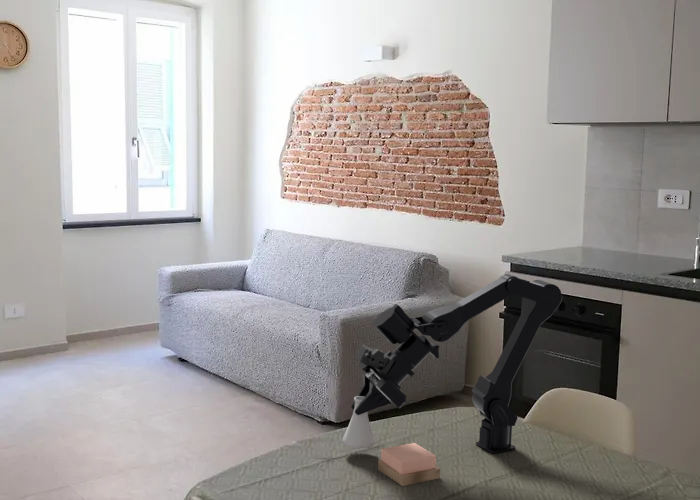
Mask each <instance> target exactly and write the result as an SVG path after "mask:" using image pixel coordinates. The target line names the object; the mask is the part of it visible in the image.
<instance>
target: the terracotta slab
mask: <svg viewBox="0 0 700 500" xmlns="http://www.w3.org/2000/svg"><path fill="white" fill-rule="evenodd" d="M380 455H381V456H380V460H381V461H383V462H384V463H386V464H387V465H388V466H390V467H391V468H393V469H394V470H395V471H397V472H398V473H400V474H401V475H402V474H408V473H413V472H418V471H423V470H428V469H433V468H436V466H437V465H436V464H437V461H436V460H437V456H436V455H435V454H433V453H432V452H430V451H429V450H427V449H425V448H423V447H422V446H420V445H419V444H417V443H416V442H411V443H407V444H400V445H394V446H390V447H383V448H381V450H380Z"/></svg>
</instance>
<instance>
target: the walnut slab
mask: <svg viewBox="0 0 700 500" xmlns="http://www.w3.org/2000/svg"><path fill="white" fill-rule="evenodd" d="M377 470H378V471H379V472H381V473H382V474H384V476H386V475H387V477H388V478H389V477H390V478H389V479H391V480H392V479H393V481H394V482H395V481H396V482H395V483H397V484H398V483H399V484H398V485H400V486H401V487H404V486H409V484H410V485H413V484H418V483H422V482H429V481H432V480H436V479H437V480H438V479H440V478H441V468H440V467H438V466H437V465H436V468H433V469H428V470H423V471H418V472H413V473H408V474H402V475H401V474H400V473H398V472H397V471H395V470H394V469H393V468H391V467H390V466H388V465H387V464H386V463H384V462H383V461H381V459H378V460H377Z"/></svg>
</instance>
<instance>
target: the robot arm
mask: <svg viewBox="0 0 700 500" xmlns="http://www.w3.org/2000/svg"><path fill="white" fill-rule="evenodd" d="M513 295H514V296H518V297H522V298H521V299H522V300H521V308H520V309H521V312H520V316H519V318H518V319H517V322H516V324H515V326H514V328H513V330H512V332H511V334H510V335H509V338H508V339H507V341H506V344H505V346H504V347H503V350H502V352H501V354H500V356H499V358H498V359H497V362H496V363H495V365H494V368H493V370H492V371H491V372H490V373H489V374H488V375H486V376H484V375H483V374H480V375H479V376H478V378H477V381H476V384H475V386H474V387H473V388H471V391H472V394H471V395H472V396H471V400H472V402H473V403H472V404H473V405H474V406H475V408H477V410H478V412H479V414H480V416H482V417H483V419H481V424H480V428H479V441H475V445H476V446H478V447H480V448H482V449H484V450H486V451H488V452H490V453H492V454H499V453H504V452H509V451H512V450H516V448H517V447H516V446H515V445H514V444H512V435H513V433H512V432H513V427H515V425H516V423H517V421H518V418H519V417H518V416H517V415H516V414H515V412H513V411H512V410H511V408H510V407H509V404H510V401H511V398H512V389H513V387H512V386H513V382H514V379H515V376H516V375H517V373H518V370H519V369H520V366H521V365H522V363H523V361H524V359H525V357H526V355H527V353H528V351H529V349H530V347H531V345H532V343H533V341H534V339H535V337H536V335H537V333H538V331H539V329H540V327H541V326H542V324H543V323H545V322H546V321H547V320H548V319H549V318H551V317H552V315H554V313H555V311H556V310H557V309H559V306H560V305H561V303H562V300H563V295H562V290H561V289H560V287H558V286H557V285H556V284H553V283H550V282H548V281H545V280H542V279H534V280H532V281H530V280H526V279H522V278H519V277H517V276H515V275H512V274H510V273H504V274H501V276H500V277H499V278H498V279H494V281H492V282H490V283H488V284H486V285H485V286H482V288H480V289H478V290H477V291H474V292H473V293H471V294H469V295H468V296H465V297H463V299H460V300H459V301H457V302H454V303H452V304H448V305H444V306H443V305H442V306H439V307H436V308H433V309H431V310H427V312H425V313H424V314H423V315H419V316H415V317H410V316H409V315H407V313H406V312H405V310H403V308H402V307H401V306H400V305H399V304H397V303H395V304H393V306H391V307H389V308H387V309H385V310H384V311H381V313H379V314H378V315H377V317H376V318H375V320H374V321H373V327H374V328H375V329H376V330H377V331H378V332H379V333H380V334H381V335H382V336H383V337H384V338H385V339H386V340H387V341H388V342H389V343H390V344H391V345H396V344H398V347H396V348H395V350H394V351H392V350H387V351H386V352H384V351H383V350H379V349H378V348H375V349H374V348H372V347H370V346H367V345H365V344H362V345H361V347H360V349H359V351H358V353H357V356H356V359H357V360H358V361H359V362H360V364H359V365H358V366H359V367H360V369H362V370H363V372H362V385H361V387H360V389H359V391H358V393H357V395H356V396H364V397H365V398H364V399H363V400H362V402H361V403H360V404H359V406H358V407H357V408H356V410H355V413H356V414H357V415H360V414H363V413H365V412H367V413H368V412H371V411H374V410H375V409H379V408H382V407H384V406H388V405H392V404H395V406H396V407H397V408H398V409H401V408H402V407H403V406H404V405H405V404H406V403H407V395H406V394H405V393H404V392H403V391H402V390H401V388H402V387H401V386H400V384H401V383H402V382H403V381H405V379H406V378H407V377H408V376H409V377H411V378H412V377H413V376H414V374H415V372H414V370H415V369H416V368H417V367H418V366H419V365H420V364H421V363H422V362H423V361H424V359H426V358H427V356H428V355H432V356H433V357H434V358H435V359H439V358H440V352H439V350H440V345H439V344H437V343H432V342H431V341H430V340H429V339H428V338H427V337H426V336H428V337H430V338H431V339H432V340H434V342H435V341H436V342H439V343H444V342H446V341H449V340H450V339H452V337H454V336H455V335H456V334H457V333H458V332H460V331H461V329H462V328H463V327H464V325H465V324H466V323H467V322H469V320H471V319H473V318H475V317H477V316H478V315H480V314H482V313H484V312H485V311H487V310H488V309H490V308H493V307H494V306H496V305H497V304H499V303H500V302H503V301H505V300H506V299H508V298H510V297H511V296H513ZM414 330H415V331H417V332H419V334H421V335H417V333H416V332H415V331H414ZM364 372H365V373H364ZM350 407H351V408H350V409H352V410H353V411H354V408H355V400H354V399H353V402H352V404H351V405H350Z"/></svg>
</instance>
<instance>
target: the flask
mask: <svg viewBox="0 0 700 500" xmlns="http://www.w3.org/2000/svg"><path fill="white" fill-rule="evenodd" d="M364 398H365V397H364V396H357V395H356V396H354V397H353V401H354V400H355V408H354V410H353V412H352V415H351V419H350V421H349V423H348V426H347V428H346V430H345V432H344V434H343V437H342V444H343V446H347V447H351V448H353V449H370V448H372V447H374V446H375V445H376V442H375V437H374V435H373V431H372V427H371V423H370V420H369V415H368V414H369V413H368V412H365V413H363V414H360V415H357V414H356V413H355V410H356V408H357V407H358V406H359V404H360V403H361V402H362V400H363V399H364Z"/></svg>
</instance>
